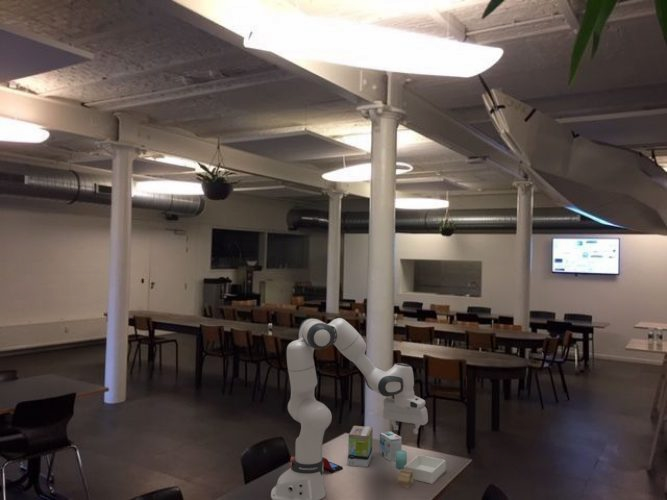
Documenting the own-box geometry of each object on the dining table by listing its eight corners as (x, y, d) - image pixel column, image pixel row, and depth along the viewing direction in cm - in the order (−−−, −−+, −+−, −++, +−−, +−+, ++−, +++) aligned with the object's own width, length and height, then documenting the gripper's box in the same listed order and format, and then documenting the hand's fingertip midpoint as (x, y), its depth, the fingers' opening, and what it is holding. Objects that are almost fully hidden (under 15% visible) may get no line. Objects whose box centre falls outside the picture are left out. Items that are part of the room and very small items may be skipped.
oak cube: (408, 487, 221) (408, 475, 221) (397, 485, 223) (397, 473, 224) (413, 483, 225) (413, 471, 225) (402, 481, 228) (402, 469, 228)
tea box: (368, 467, 242) (368, 435, 243) (347, 465, 244) (347, 434, 245) (372, 456, 257) (372, 426, 258) (352, 454, 259) (352, 424, 260)
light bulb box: (379, 454, 260) (379, 432, 260) (390, 452, 263) (390, 430, 263) (390, 461, 250) (390, 439, 250) (402, 459, 253) (402, 437, 253)
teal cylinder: (396, 469, 241) (396, 453, 241) (395, 465, 246) (395, 450, 246) (407, 469, 241) (407, 454, 241) (406, 465, 246) (406, 450, 246)
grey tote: (431, 484, 224) (431, 472, 224) (403, 477, 231) (403, 466, 231) (445, 471, 239) (445, 460, 239) (418, 465, 246) (418, 454, 246)
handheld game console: (343, 469, 241) (344, 453, 241) (326, 476, 233) (327, 459, 233) (325, 462, 250) (325, 446, 250) (308, 468, 242) (308, 451, 242)
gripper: (380, 399, 231) (381, 430, 231) (422, 405, 219) (424, 437, 219) (386, 395, 236) (387, 425, 236) (428, 401, 225) (430, 433, 225)
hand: (405, 431), depth 228 cm, fingers open, 8 cm apart
